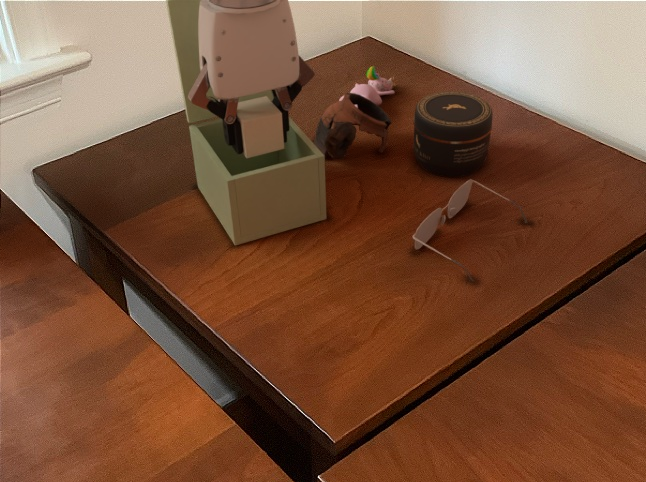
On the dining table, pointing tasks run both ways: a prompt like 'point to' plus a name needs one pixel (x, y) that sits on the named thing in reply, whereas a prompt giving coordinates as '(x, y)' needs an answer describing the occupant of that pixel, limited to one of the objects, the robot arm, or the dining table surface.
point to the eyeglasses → (454, 206)
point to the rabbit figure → (374, 87)
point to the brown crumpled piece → (350, 125)
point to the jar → (452, 133)
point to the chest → (259, 183)
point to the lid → (192, 55)
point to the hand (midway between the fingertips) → (257, 141)
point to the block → (260, 126)
